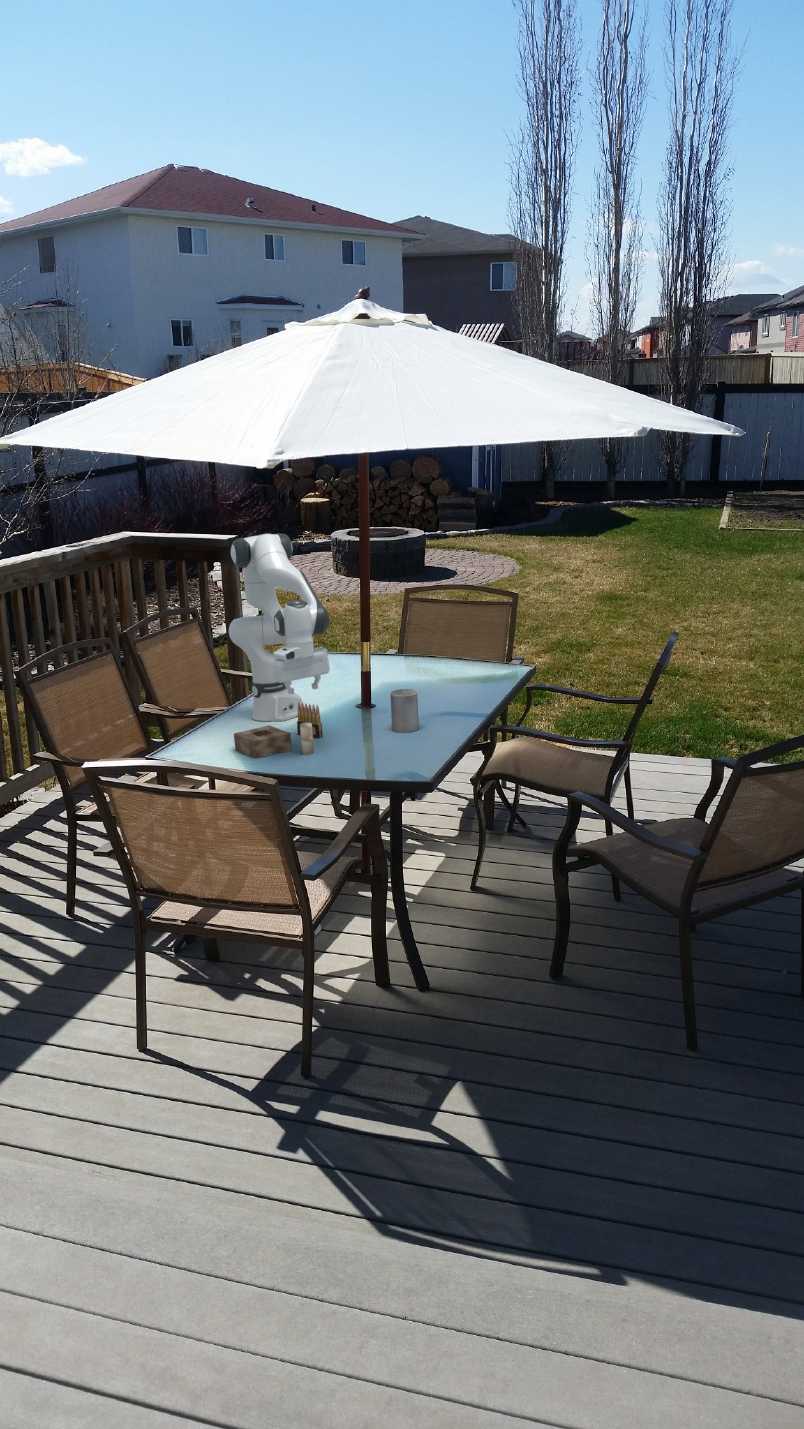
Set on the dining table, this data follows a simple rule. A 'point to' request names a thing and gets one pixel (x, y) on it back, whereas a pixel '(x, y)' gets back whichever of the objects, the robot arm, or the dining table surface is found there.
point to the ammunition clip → (310, 719)
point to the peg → (306, 738)
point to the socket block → (262, 741)
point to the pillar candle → (404, 710)
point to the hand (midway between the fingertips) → (303, 691)
